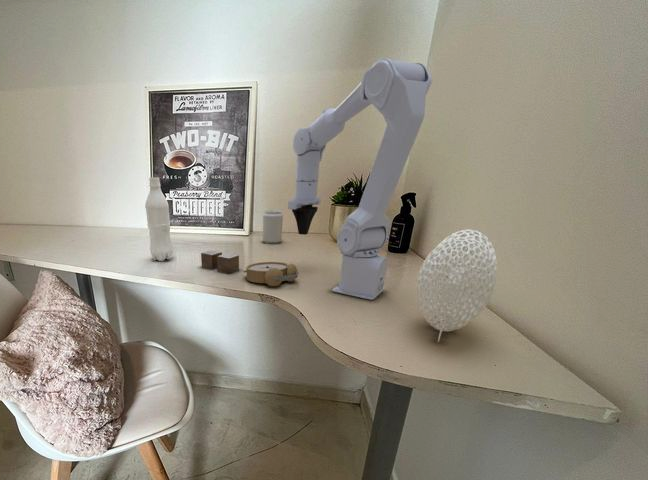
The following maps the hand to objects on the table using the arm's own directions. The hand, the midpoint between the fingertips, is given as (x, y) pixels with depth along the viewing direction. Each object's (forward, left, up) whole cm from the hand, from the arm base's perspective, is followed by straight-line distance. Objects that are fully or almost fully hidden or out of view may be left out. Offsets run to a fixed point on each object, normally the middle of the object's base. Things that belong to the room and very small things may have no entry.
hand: (303, 234), depth 92 cm
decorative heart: (-39, +20, -10) cm, 45 cm away
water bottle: (+42, +17, -10) cm, 46 cm away
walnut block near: (+16, +14, -10) cm, 23 cm away
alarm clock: (+1, +14, -10) cm, 17 cm away
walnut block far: (+22, +14, -10) cm, 28 cm away
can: (+28, -27, -10) cm, 40 cm away
